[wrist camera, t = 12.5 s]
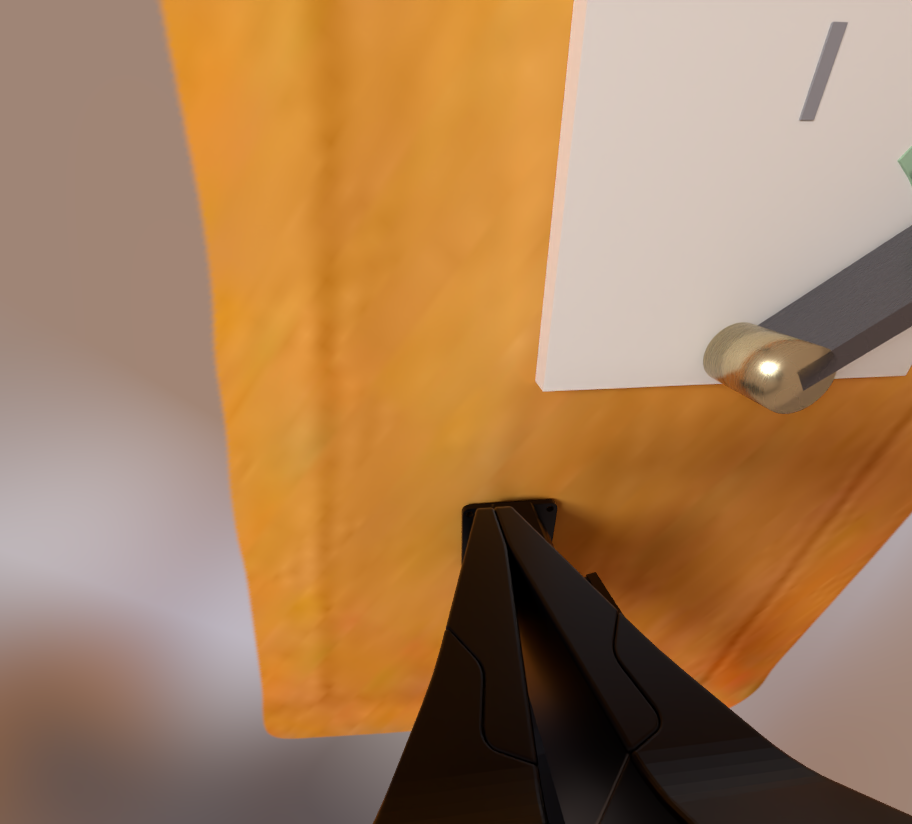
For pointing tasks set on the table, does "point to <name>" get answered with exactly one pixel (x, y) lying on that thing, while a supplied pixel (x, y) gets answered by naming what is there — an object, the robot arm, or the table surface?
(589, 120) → the dial board
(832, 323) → the pointer
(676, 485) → the table surface
